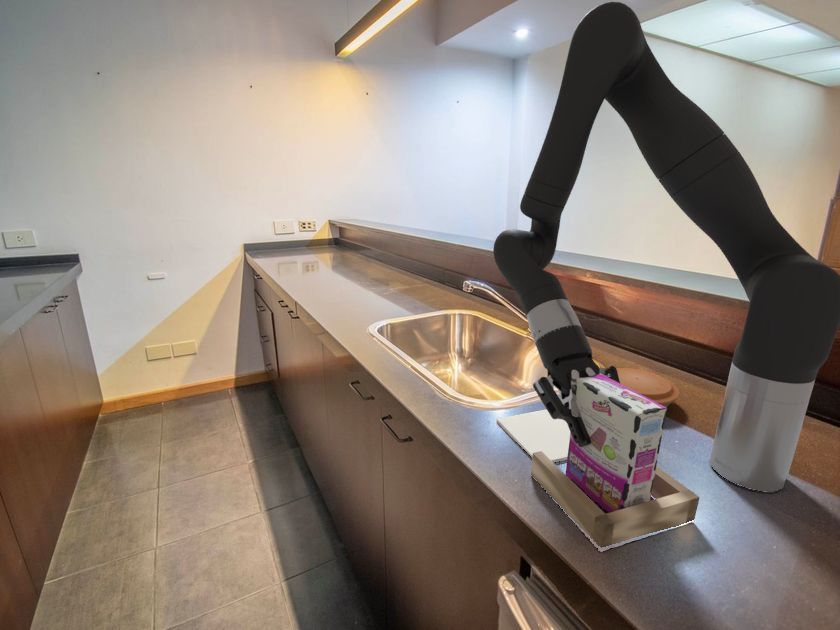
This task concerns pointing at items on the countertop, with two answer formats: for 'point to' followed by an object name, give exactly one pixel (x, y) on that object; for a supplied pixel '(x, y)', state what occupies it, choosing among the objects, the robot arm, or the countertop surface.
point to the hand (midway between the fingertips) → (601, 441)
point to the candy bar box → (615, 443)
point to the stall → (619, 525)
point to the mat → (539, 433)
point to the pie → (649, 385)
